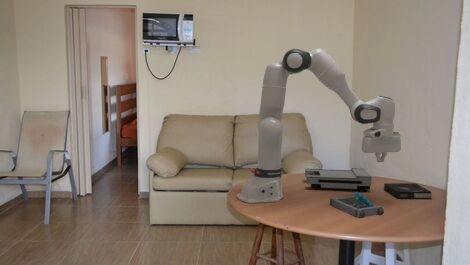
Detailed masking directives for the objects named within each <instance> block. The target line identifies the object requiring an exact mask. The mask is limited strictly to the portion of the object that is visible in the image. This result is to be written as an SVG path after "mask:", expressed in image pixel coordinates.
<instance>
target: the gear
mask: <svg viewBox="0 0 470 265" xmlns="http://www.w3.org/2000/svg"><path fill="white" fill-rule="evenodd" d="M354 196H356V197H357V198H356V202H355V203H353V205H352V206H353V207H355V206H356V205H357V204H358V205H357V206H356V207H355V208H357V209H360V208H362V207H361V206H363V205H364V206H366V208H367V207H374V204H373V203H371V201H370V200H367V197H365V196H363V195H362V194H361V193H360V192H354Z"/></svg>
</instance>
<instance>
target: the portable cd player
mask: <svg viewBox="0 0 470 265" xmlns="http://www.w3.org/2000/svg"><path fill="white" fill-rule="evenodd" d="M383 191H384V192H386V193H388V194H389V195H390V196H392V197H393V198H395V199H396V200H432V198H433V197H432V191H430V190H429V189H427V188H425V187H423V186H421V185H419V184H418V183H415V182H414V183H412V182H411V183H403V182H402V183H401V182H400V183H399V182H398V183H396V182H395V183H394V182H393V183H392V182H391V183H386V182H385V183H384V185H383Z"/></svg>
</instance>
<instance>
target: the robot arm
mask: <svg viewBox="0 0 470 265" xmlns="http://www.w3.org/2000/svg"><path fill="white" fill-rule="evenodd" d="M305 70H308V71H310V72H311V73H312V74H313V75H314V76H315V77H316V78H317V80H318V81H319V82H320V83H321V84H323V86H324V87H326V88H328V89H329V90H330V91H332V92H334V93H335V94H336V95H337V96H338V97H339V98H340V99H341V100H342V101H343V102H344V104H345V106H347V107H348V110H349V112H350V116H351V118H352V119H353V121H355V122H357V123H359V124H361V125H368V124H372V127H370V128H368V129H365V130H364V131H363V132H362V133H363V134H362V135H363V137H362V141H361V146H360V148H361V152H362V153H365V154H374V155H375V157H376V162H377V163H384V162H385V158H386V157H387V155H388V153H399V152H400V151H401V150H402V140H401V134H400V133H399V132H398V131H394V129H395V128H394V119H395V115H396V114H395V113H396V102H395V100H394V99H393V98H391V97H388V96H385V95H377V96H376V97H374V98H372V99H370V100H368V101H365V100H362V99H360V98H359V97H358V95H357V94H356V93H355V92H354V91H353V89H351V87H350V86H349V84H348V82H347V79H346V74H345V73H344V71H343V69H342V67H341V66H340V65H339V63H338V62H337V61H336V60H335V59H334V58H333V57H332V56H331V55H330V54H329V53H328V52H327V51H325V50H324V49H323V48H320V47H319V48H318V47H317V48H314V49H312V50H310V52H308V51H305V50H302V49H300V48H299V49H298V48H291V49H289V50H288V51H286V52H285V53H284V55H283V58H282V60H280V61H278V62H270V63H269V64H268V65H266V67H265V71H264V75H263V78H262V85H261V88H262V90H261V97H260V104H259V106H260V107H259V113H258V121H257V130H258V142H257V143H258V144H257V145H258V146H257V167H256V168H253V167H251V168H250V169H249V171H250V172H251V173H253V176H251V177H250V178H249V179H248V180H247V181H245V182H244V183H243V184H242V187H241V192H239V193H237V194H236V198H237V199H238V200H239V201H241V202H242V203H243V202H245V203H248V204H254V203H255V204H256V203H257V204H258V203H271V202H272V203H275V202H280V201H281V199H284V193H283V190H282V170H283V169H282V166H281V163H282V149H283V148H282V147H283V146H282V144H283V134H284V127H283V123H282V117H283V112H284V106H285V103H286V102H285V100H286V91H287V84H288V78H289V76H290V75H294V74H295V75H296V74H301V73H302V72H303V71H305Z"/></svg>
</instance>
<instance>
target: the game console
mask: <svg viewBox="0 0 470 265" xmlns="http://www.w3.org/2000/svg"><path fill="white" fill-rule="evenodd" d="M304 176H305V178H306V181H305V183H306V184H307V185H308V184H309V185H311V188H315V191H329V190H330V191H332V190H333V191H334V192H354V193H355V192H356V193H357V192H358V193H366V192H367V190H371V187H372V180H373V178H372V176H371V175H370V173H368V172H367V170H366V168H351V170H350V169H348V170H347V169H322V168H321V169H320V168H319V169H317V168H305V169H304ZM333 191H332V192H333Z"/></svg>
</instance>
